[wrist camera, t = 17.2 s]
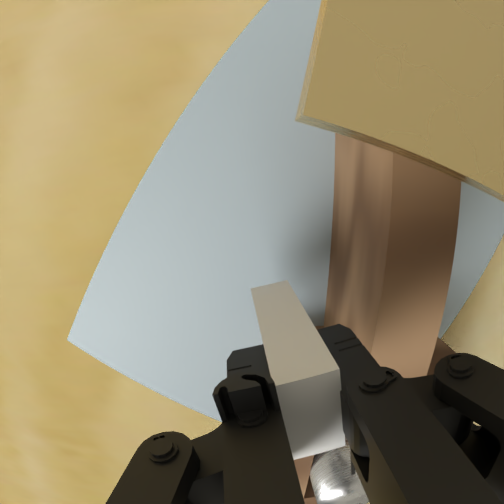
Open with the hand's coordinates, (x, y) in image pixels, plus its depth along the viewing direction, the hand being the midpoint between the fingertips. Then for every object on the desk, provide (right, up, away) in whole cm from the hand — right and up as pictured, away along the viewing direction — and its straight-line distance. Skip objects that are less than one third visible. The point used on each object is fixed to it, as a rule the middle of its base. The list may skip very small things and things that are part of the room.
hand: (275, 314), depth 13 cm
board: (+4, +3, +3) cm, 6 cm away
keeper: (+6, +10, +2) cm, 12 cm away
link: (+4, 0, +4) cm, 6 cm away
